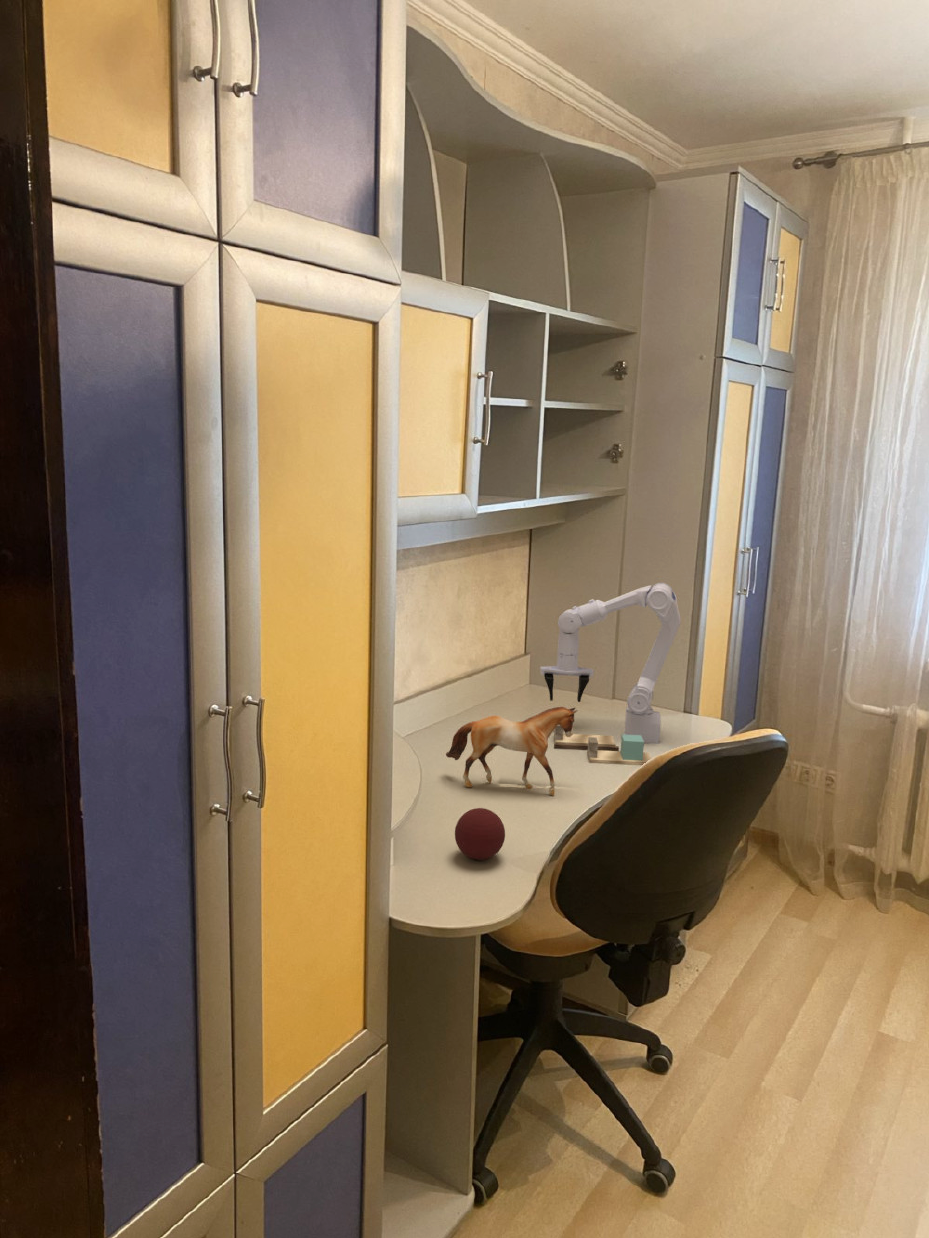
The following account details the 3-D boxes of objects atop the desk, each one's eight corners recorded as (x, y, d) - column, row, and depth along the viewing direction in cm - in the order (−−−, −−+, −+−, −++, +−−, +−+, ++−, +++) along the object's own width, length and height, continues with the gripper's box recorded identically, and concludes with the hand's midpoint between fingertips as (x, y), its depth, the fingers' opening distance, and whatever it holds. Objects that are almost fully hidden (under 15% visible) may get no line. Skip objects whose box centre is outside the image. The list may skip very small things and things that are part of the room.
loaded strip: (648, 755, 240) (649, 738, 239) (652, 765, 233) (654, 747, 232) (587, 752, 241) (588, 735, 240) (589, 762, 234) (590, 744, 233)
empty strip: (612, 738, 252) (613, 721, 251) (615, 747, 245) (616, 730, 244) (553, 735, 253) (554, 719, 252) (555, 744, 246) (556, 727, 245)
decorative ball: (497, 872, 177) (499, 824, 175) (447, 864, 180) (449, 816, 177) (509, 850, 186) (511, 804, 184) (461, 842, 189) (463, 797, 187)
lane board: (613, 740, 253) (613, 733, 253) (623, 770, 232) (624, 762, 231) (551, 737, 254) (551, 730, 253) (556, 767, 232) (556, 759, 232)
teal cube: (639, 753, 239) (641, 735, 238) (642, 760, 234) (644, 741, 233) (620, 752, 239) (621, 734, 238) (622, 759, 234) (624, 740, 233)
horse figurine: (573, 788, 219) (578, 705, 215) (570, 801, 212) (575, 715, 207) (446, 774, 225) (448, 693, 221) (438, 786, 218) (441, 702, 213)
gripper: (592, 650, 257) (589, 697, 260) (541, 648, 258) (538, 694, 261) (595, 657, 250) (592, 704, 253) (542, 654, 251) (539, 702, 254)
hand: (565, 700), depth 257 cm, fingers open, 7 cm apart
